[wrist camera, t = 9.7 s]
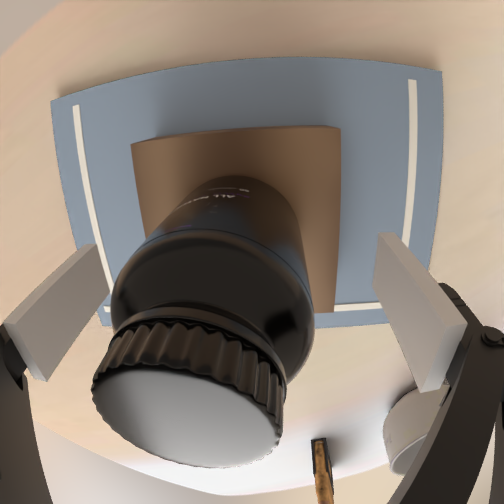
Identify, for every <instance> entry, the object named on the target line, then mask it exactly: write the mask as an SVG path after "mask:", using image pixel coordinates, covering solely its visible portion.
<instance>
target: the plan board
mask: <svg viewBox="0 0 504 504" xmlns="http://www.w3.org/2000/svg"><path fill="white" fill-rule="evenodd" d="M51 113H52V123H53V132H54V140H55V147H56V154H57V160H58V166H59V172H60V178H61V183H62V188H63V193H64V198H65V203H66V207H67V212H68V216H69V220H70V224H71V228H72V232H73V236H74V240H75V244H76V247H77V250H79V249H80V248H81V247H82V246H83V245H84V244H97V246H98V250H99V254H100V258H101V261H102V265H103V269H104V272H105V275H106V279H107V282H108V286H109V289H110V293H109V294H108V296H107V297H106V298H105V300H104V301H103V302H102V304H101V305H100V306H99V308H98V309H97V313H98V315H99V318H100V321H101V323H102V326H112V323H111V316H110V303H111V294H112V290H113V286H114V284H115V281H116V278H117V276H118V275H119V273H120V271H121V269H122V268H123V266H124V265H125V264H126V262H127V261H128V260H129V258H130V257H131V256H132V254H133V253H134V252H135V251H136V250H137V249H138V248H139V247H140V245H141V244H142V243H143V242H144V241H145V240H146V238H145V233H144V228H143V223H142V217H141V212H140V206H139V200H138V194H137V188H136V182H135V175H134V168H133V161H132V154H131V146H130V144H133V143H136V142H140V141H143V140H147V139H151V138H154V137H160V136H168V135H175V134H183V133H191V132H200V131H210V130H221V129H233V128H248V127H267V126H300V125H327V126H331V127H336V128H340V129H341V206H340V233H339V252H338V268H337V282H336V294H335V305H334V313H316V314H314V318H315V328H333V327H348V326H362V325H374V324H385V323H389V321H388V318H387V316H386V314H385V312H384V310H383V308H382V306H381V304H380V302H379V300H378V298H377V296H376V294H375V292H374V290H373V288H372V283H373V276H374V268H375V260H376V251H377V241H378V233H380V232H394V233H395V234H396V235H397V236H398V237H399V238H400V239H401V241H402V242H403V243H404V244H405V245H406V246H407V247H408V249H409V250H410V251H411V252H412V253H413V254H414V256H415V257H416V258H417V259H418V260H419V261H420V263H421V264H422V265H423V266H424V267H425V269H426V270H427V271H428V266H429V261H430V256H431V250H432V245H433V239H434V232H435V225H436V218H437V211H438V202H439V193H440V183H441V170H442V153H443V84H442V71H437V70H432V69H427V68H421V67H415V66H409V65H403V64H396V63H388V62H380V61H371V60H360V59H347V58H328V57H272V58H253V59H239V60H228V61H219V62H210V63H202V64H195V65H188V66H182V67H176V68H170V69H165V70H160V71H155V72H150V73H145V74H141V75H136V76H132V77H128V78H124V79H120V80H116V81H112V82H108V83H105V84H101V85H98V86H94V87H91V88H88V89H85V90H81V91H78V92H75V93H72V94H69V95H66V96H63V97H61V98H58V99H55V100H52V101H51Z"/></svg>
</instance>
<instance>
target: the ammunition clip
mask: <svg viewBox="0 0 504 504" xmlns="http://www.w3.org/2000/svg"><path fill="white" fill-rule="evenodd" d="M311 446H312V460H313V474H314V477H315V485H316V494H317V497H318V504H334V500H333V495H334V488H333V478H332V467H331V462H330V457H329V453H328V448H327V443H326V438H321V439H316V440H311Z"/></svg>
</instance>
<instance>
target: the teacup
mask: <svg viewBox="0 0 504 504" xmlns="http://www.w3.org/2000/svg"><path fill="white" fill-rule="evenodd" d="M448 388H449V385H445V384H442V385H441V387H440V389H437V390H433V391H428V392H423V393H420V392H419V389H418V388H416V389H414V390H412V391H410V392H409V393H407V394H406V395H404V396H403V397H402V398H401V399H400V400H399V401H398V402H397V403H396V404H395V406H394V407H393V408H392V409H391V411H390V412H389V413H388V415H387V417H386V419H385V421H384V425H383V438H384V443H385V447H386V451H387V455H388V459H389V462H390V470H391V472H392V473H393V474H396V475H401V476H405V475H406V473H407V471H408V470H409V468H410V466H411V464H412V463H413V461H414V459H415V457H416V455H417V454H418V452H419V450H420V448H421V446H422V444H423V442H424V440H425V438H426V436H427V434H428V432H429V430H430V428H431V426H432V424H433V422H434V420H435V417H436V415H437V413H438V411H439V408H440V406H439V405H440V403H441V401H442V399H443V397H444V396H445V394H446V392H447V390H448Z"/></svg>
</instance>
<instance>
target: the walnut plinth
mask: <svg viewBox="0 0 504 504" xmlns="http://www.w3.org/2000/svg"><path fill="white" fill-rule="evenodd" d="M130 146H131V154H132V161H133V168H134V175H135V182H136V188H137V194H138V200H139V206H140V212H141V217H142V223H143V228H144V233H145V238H146V239H147V238H148V237H149V235H150V234H151V233H152V232H153V231H154V230H155V229H156V228H157V227H158V226H159V225H160V224H161V222H162V221H163V220H164V219H165V218H166V217H167V216H168V215H169V214H170V213H171V212H172V211H173V210H174V209H175V208H176V207H177V206H178V204H179V203H180V202H181V201H182V200H183V199H184V198H185V197H186V196H187V195H189V194H190V193H191V192H192V191H193V190H194V189H196V188H197V187H198V186H200V185H202V184H203V183H205V182H207V181H209V180H212V179H214V178H218V177H222V176H230V175H239V176H247V177H251V178H255V179H258V180H261V181H263V182H265V183H267V184H269V185H270V186H272V187H273V188H275V189H276V190H277V191H278V192H280V193H281V194H282V195H283V196H284V197H285V199H286V200H287V201H288V202H289V204H290V205H291V207H292V209H293V210H294V212H295V215H296V217H297V220H298V223H299V227H300V231H301V236H302V242H303V248H304V253H305V259H306V265H307V271H308V277H309V283H310V289H311V295H312V302H313V308H314V314H316V313H334V305H335V294H336V282H337V268H338V252H339V233H340V206H341V129H340V128H336V127H331V126H327V125H300V126H267V127H248V128H233V129H221V130H210V131H200V132H191V133H183V134H175V135H168V136H160V137H154V138H151V139H147V140H143V141H140V142H136V143H133V144H130Z"/></svg>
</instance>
